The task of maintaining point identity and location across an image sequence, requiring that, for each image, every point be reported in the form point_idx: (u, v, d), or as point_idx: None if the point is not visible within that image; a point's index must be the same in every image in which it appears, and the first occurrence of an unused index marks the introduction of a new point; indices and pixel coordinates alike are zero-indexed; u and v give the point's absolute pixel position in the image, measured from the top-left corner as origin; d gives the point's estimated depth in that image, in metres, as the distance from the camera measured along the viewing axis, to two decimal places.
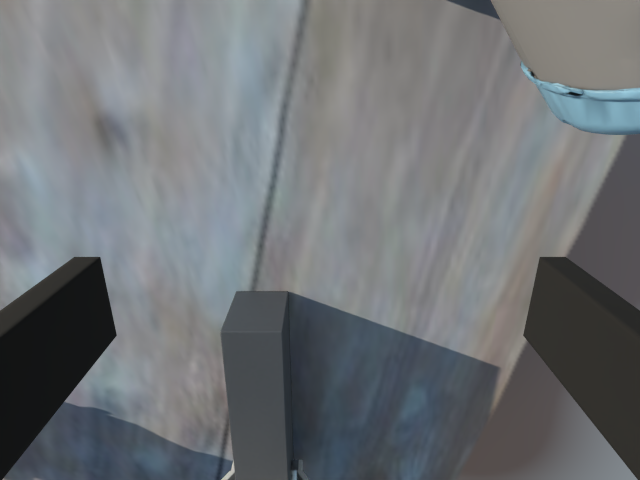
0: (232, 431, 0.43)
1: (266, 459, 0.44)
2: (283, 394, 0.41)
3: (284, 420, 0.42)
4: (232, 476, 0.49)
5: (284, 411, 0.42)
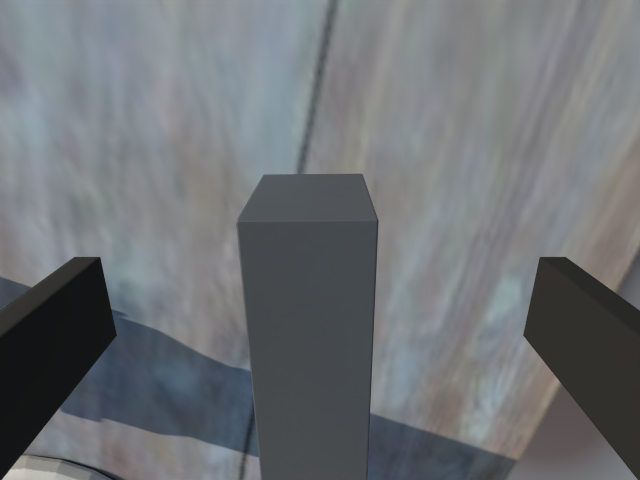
0: (261, 441, 0.21)
1: None
2: (369, 366, 0.19)
3: (367, 420, 0.21)
4: None
5: (368, 401, 0.20)
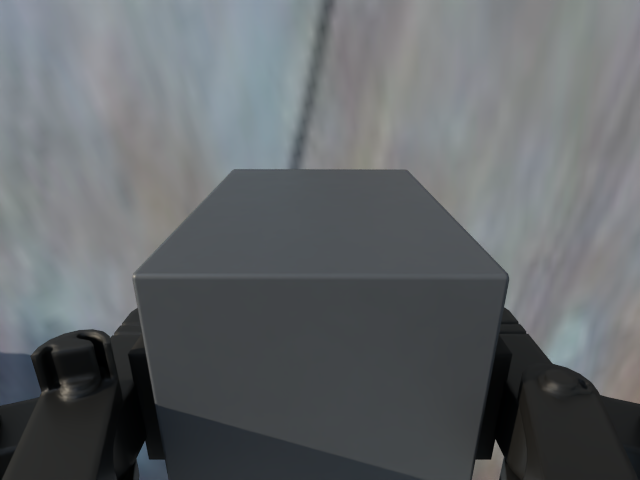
0: None
1: None
2: None
3: None
4: None
5: None
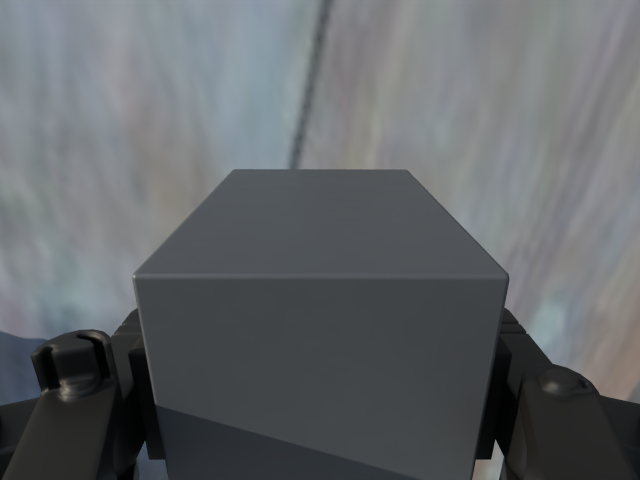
0: None
1: None
2: None
3: None
4: None
5: None
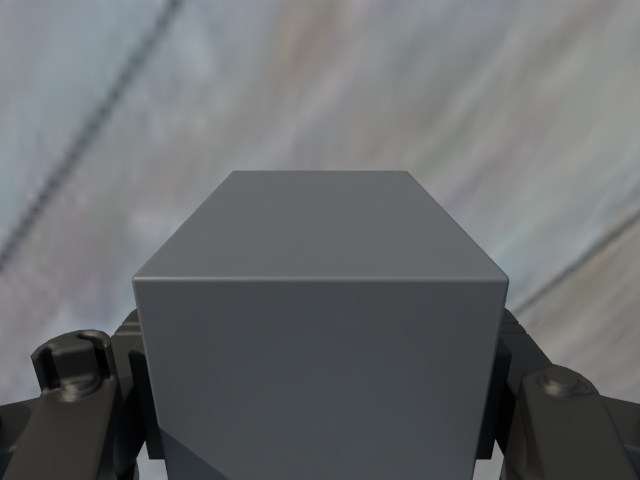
0: None
1: None
2: None
3: None
4: None
5: None
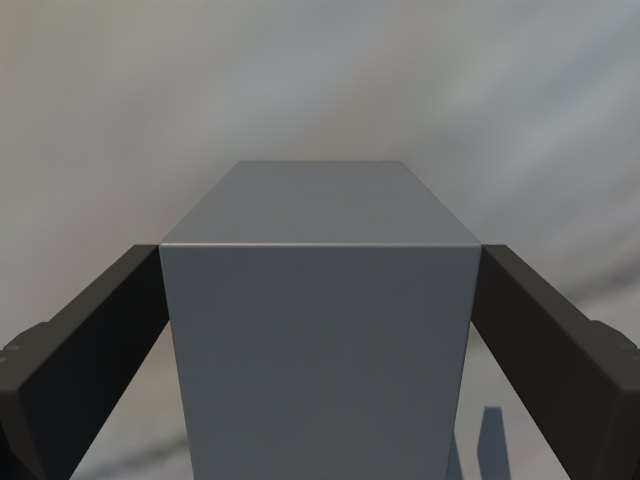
0: None
1: None
2: None
3: None
4: None
5: None
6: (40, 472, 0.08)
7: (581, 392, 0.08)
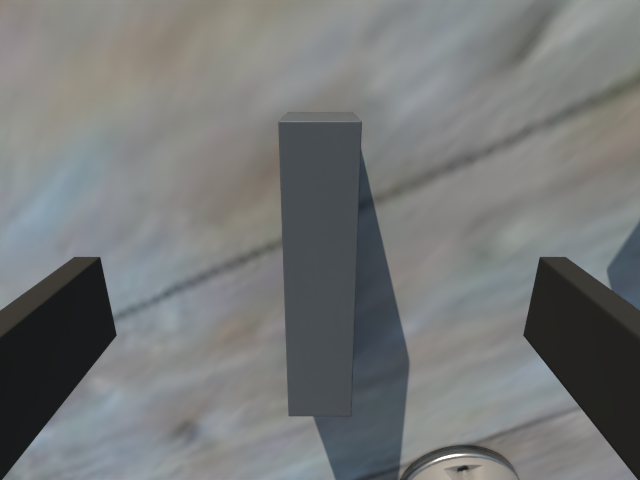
0: (286, 278, 0.33)
1: (328, 321, 0.34)
2: (356, 221, 0.31)
3: (355, 261, 0.33)
4: None
5: (356, 248, 0.32)
6: None
7: None
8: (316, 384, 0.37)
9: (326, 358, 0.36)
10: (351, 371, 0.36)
